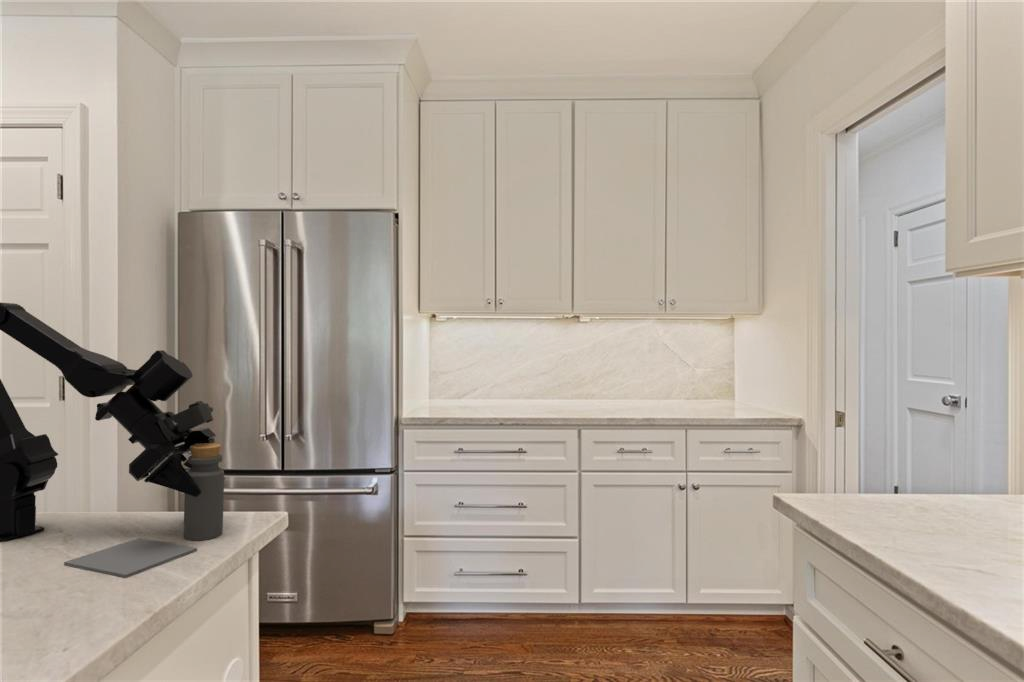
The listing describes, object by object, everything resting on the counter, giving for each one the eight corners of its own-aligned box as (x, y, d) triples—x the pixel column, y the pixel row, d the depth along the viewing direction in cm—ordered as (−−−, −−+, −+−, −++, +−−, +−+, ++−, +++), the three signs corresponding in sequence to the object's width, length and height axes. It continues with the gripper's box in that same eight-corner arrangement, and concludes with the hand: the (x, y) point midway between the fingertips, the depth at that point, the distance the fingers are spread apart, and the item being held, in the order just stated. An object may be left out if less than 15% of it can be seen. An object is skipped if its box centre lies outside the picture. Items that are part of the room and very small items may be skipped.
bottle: (206, 542, 99) (209, 449, 99) (175, 539, 101) (177, 447, 101) (230, 531, 105) (232, 443, 105) (200, 528, 106) (202, 441, 106)
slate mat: (64, 564, 88) (64, 562, 88) (139, 540, 100) (139, 537, 100) (125, 577, 84) (125, 574, 84) (197, 550, 96) (197, 547, 96)
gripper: (151, 391, 93) (224, 465, 94) (205, 383, 112) (266, 444, 113) (96, 443, 93) (170, 516, 93) (159, 425, 111) (220, 487, 112)
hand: (211, 487), depth 103 cm, fingers open, 9 cm apart
